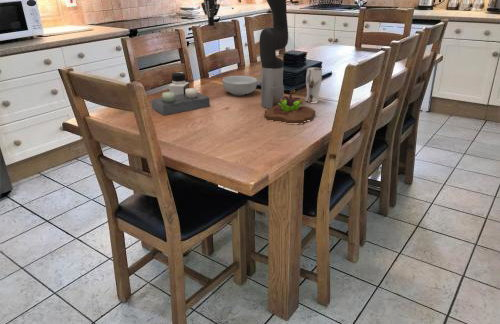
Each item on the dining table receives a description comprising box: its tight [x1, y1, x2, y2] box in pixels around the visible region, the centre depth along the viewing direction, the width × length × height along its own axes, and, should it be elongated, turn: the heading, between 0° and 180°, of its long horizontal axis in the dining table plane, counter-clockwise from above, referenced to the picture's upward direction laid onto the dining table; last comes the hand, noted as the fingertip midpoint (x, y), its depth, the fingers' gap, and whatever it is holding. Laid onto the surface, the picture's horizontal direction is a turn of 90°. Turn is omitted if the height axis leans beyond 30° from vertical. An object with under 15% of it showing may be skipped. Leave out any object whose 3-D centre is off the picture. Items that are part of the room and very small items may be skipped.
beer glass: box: [305, 66, 323, 102], centre depth 183 cm, size 7×7×15 cm
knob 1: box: [161, 91, 175, 103], centre depth 173 cm, size 5×5×7 cm
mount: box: [150, 91, 211, 116], centre depth 177 cm, size 12×22×4 cm, turn 125°
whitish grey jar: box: [185, 87, 198, 99], centre depth 179 cm, size 5×5×7 cm
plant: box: [263, 88, 316, 124], centre depth 165 cm, size 20×20×11 cm
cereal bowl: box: [222, 75, 258, 96], centre depth 197 cm, size 17×17×7 cm
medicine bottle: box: [168, 71, 190, 95], centre depth 188 cm, size 7×7×12 cm
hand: (211, 25), depth 183 cm, fingers closed
